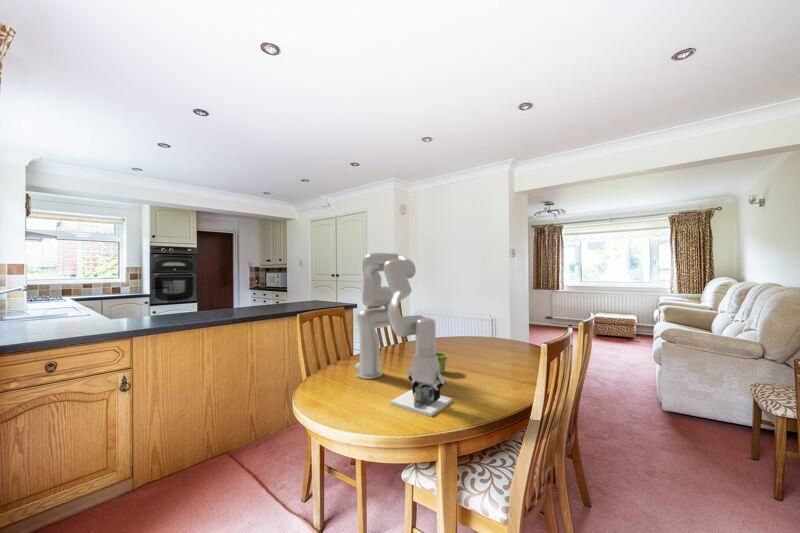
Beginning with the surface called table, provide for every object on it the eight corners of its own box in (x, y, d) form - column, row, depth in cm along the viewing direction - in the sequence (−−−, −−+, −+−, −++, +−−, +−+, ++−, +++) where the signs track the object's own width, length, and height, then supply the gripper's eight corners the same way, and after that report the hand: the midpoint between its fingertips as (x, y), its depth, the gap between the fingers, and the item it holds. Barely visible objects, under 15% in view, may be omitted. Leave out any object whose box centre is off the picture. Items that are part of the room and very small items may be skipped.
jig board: (390, 404, 126) (390, 401, 126) (413, 391, 139) (413, 388, 139) (430, 416, 115) (430, 413, 115) (452, 401, 128) (452, 398, 128)
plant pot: (426, 374, 160) (426, 356, 160) (430, 368, 169) (430, 351, 169) (446, 376, 157) (445, 358, 157) (449, 370, 166) (448, 352, 166)
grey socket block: (423, 396, 130) (423, 382, 130) (436, 400, 127) (436, 385, 127) (409, 405, 122) (409, 390, 122) (423, 409, 118) (423, 394, 118)
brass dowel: (413, 405, 122) (413, 393, 122) (414, 404, 123) (414, 392, 123) (415, 406, 121) (415, 393, 121) (417, 405, 122) (417, 393, 122)
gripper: (401, 350, 128) (401, 394, 128) (440, 357, 118) (441, 405, 118) (412, 346, 134) (412, 388, 134) (450, 352, 124) (451, 398, 124)
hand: (426, 396), depth 126 cm, fingers open, 9 cm apart
